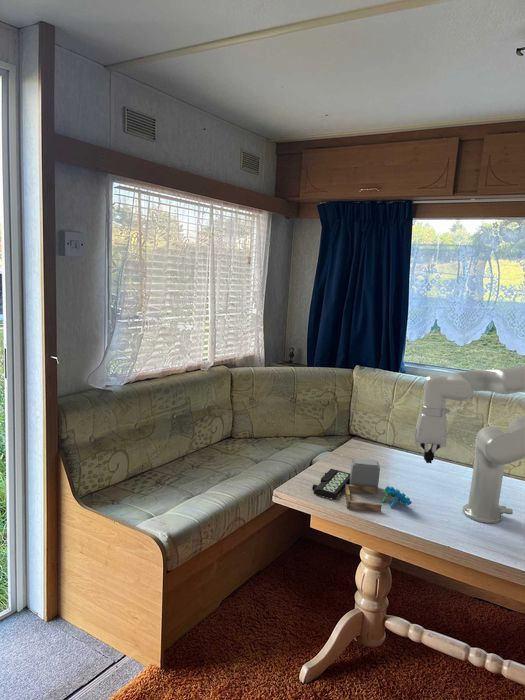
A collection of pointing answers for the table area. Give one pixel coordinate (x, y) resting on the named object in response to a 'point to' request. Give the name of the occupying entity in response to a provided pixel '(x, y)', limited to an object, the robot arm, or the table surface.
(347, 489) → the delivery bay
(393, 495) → the gear
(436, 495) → the table surface
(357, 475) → the box
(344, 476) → the digital display
